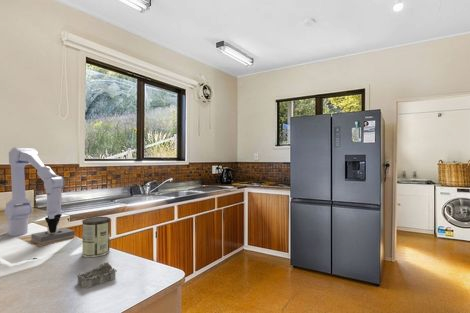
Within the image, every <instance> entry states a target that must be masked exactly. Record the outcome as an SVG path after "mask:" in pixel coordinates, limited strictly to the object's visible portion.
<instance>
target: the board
mask: <svg viewBox="0 0 470 313" xmlns="http://www.w3.org/2000/svg"><path fill="white" fill-rule="evenodd" d="M16 238H17V239H19V240H21V241H24V242H26V243H29V244H30V245H33V246H35V247H37V248H41V247H45V246H49V245H55V244H58V243H63V242H67V241H71V240H74V239H79V238H80V237H79V236H76V235H74V237H72V238H68V239H63V240H59V241H54V242H50V243H46V244H39V243H36V242H34V241H31V234H28V235H21V236H18V237H17V236H16Z"/></svg>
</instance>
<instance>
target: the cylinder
mask: <svg viewBox="0 0 470 313" xmlns="http://www.w3.org/2000/svg"><path fill="white" fill-rule="evenodd" d="M59 225H60V224H59V223H57V228H56V231H55V232H53V233H50V231H49V227H48V225H47V226H46V227H47V230H46V231H47V234H49V235H51V234H56V233H59V229H60V227H59Z"/></svg>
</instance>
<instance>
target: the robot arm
mask: <svg viewBox="0 0 470 313" xmlns="http://www.w3.org/2000/svg"><path fill="white" fill-rule="evenodd" d="M8 164H9V165H10V174H11V175H10V176H11V180H10V181H11V199H10V200H9V201H8V202H6V203H5V208H4V215H5V217H6V218H7V219H8V221H7V225H6V226H7V227H6V233H7V235H9V236H12V237H13V236H14V237H17V236H18V237H19V236H25V235H26V234H28V231H29V230H28V226H29V217H30V215H31V214H32V213H33V211H34V209H33V205H32V200H30V199H28V198H27V197H26V180H25V179H26V177H25V176H26V175H25V167H26V166H27V165H29V164H30V165H31V166H32V167H34V168H35V170H37V171H36V174H37V175H38V177H39V178H40V179H41V180H42V182H43V186H44V187H43V188H44V189H45V193H46V211H45V214H46V215H47V217H44V220H45V222H46V224H47V226H48V227H49V231H50V233H53V232H55V231H56V228H57V223H58V224H59V223H60V219H61V217H62V215H63V214H64V213H65V211H64V210H62V190H63V188H64V187H65V185H66V184H65V183H66V182H65V179H64V177H63V176H60V175H57V174H56V173H55V172H54V170H53V169H52V168H51V167H50V166H48V165H45V164H44V163H43V161H42V160H41V159H40V157H39V152H38V151H37V150H36V148H33V147H31V148H30V147H29V148H28V147H12V148H11V149H10V150H9V151H8Z"/></svg>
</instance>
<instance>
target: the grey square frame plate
mask: <svg viewBox="0 0 470 313" xmlns="http://www.w3.org/2000/svg"><path fill="white" fill-rule="evenodd" d="M30 235H31V241H34V242H36V243H39V244H46V243H50V242H54V241H59V240H63V239H68V238H72V237H74V236H75V230H73V229H70V228H66V227H61V228H60V227H59V233H56V234H51V235H49V234H47V230H45V231H41V232H39V231H38V232H35V233H31V234H30Z"/></svg>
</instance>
